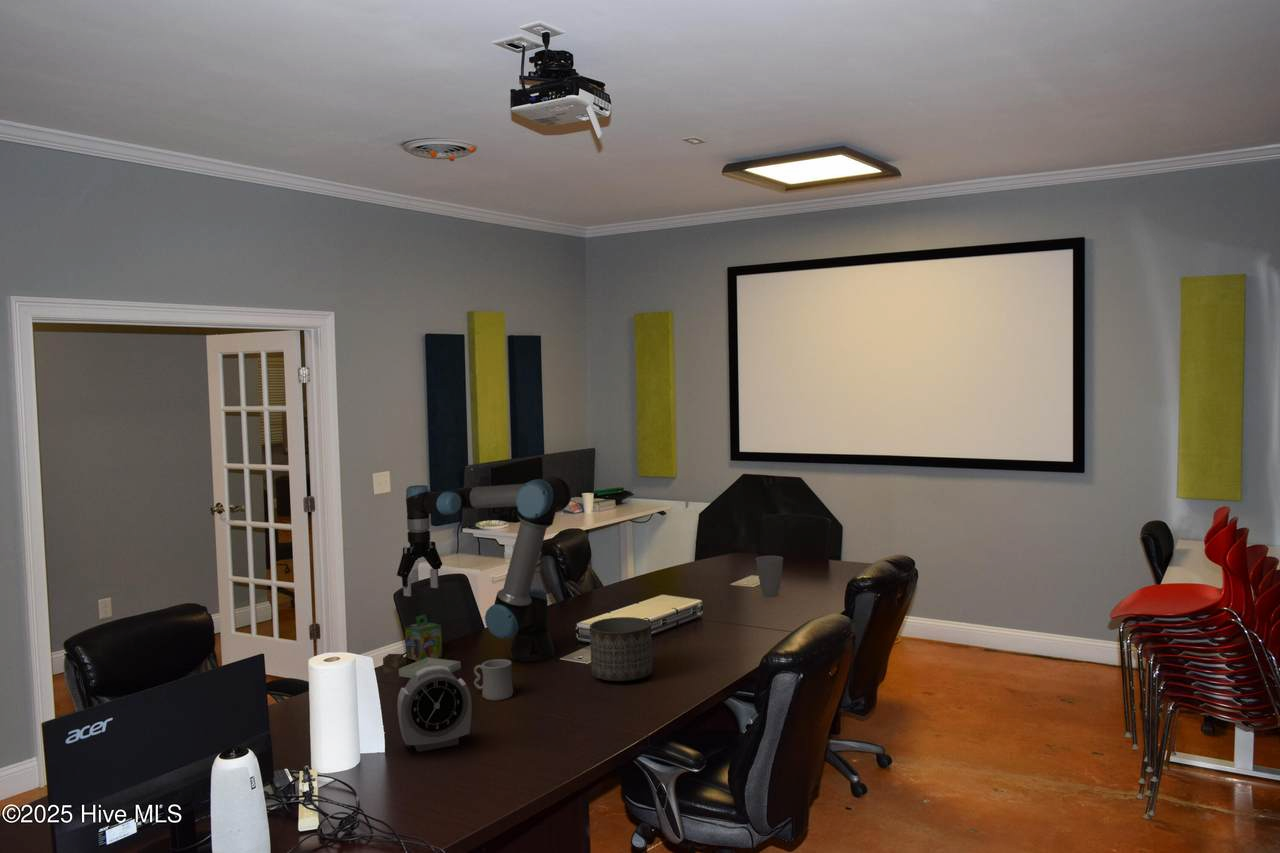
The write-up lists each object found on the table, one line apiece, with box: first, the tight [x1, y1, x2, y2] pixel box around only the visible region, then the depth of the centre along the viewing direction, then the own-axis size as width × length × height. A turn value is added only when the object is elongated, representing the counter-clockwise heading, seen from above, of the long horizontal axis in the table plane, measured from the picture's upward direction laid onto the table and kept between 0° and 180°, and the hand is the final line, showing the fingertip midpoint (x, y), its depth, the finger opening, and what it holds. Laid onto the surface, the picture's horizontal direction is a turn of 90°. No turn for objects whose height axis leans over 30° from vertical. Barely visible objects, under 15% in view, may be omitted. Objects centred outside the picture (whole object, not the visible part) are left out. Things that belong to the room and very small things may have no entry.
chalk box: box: [404, 613, 443, 662], centre depth 318 cm, size 9×9×15 cm
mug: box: [473, 658, 514, 701], centre depth 275 cm, size 12×9×10 cm
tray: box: [398, 657, 462, 679], centre depth 301 cm, size 14×14×2 cm
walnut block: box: [382, 653, 405, 674], centre depth 305 cm, size 5×5×5 cm
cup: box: [755, 555, 784, 598], centre depth 396 cm, size 12×12×16 cm
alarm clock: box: [396, 665, 472, 753], centre depth 238 cm, size 18×8×20 cm, turn 114°
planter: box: [589, 616, 654, 683], centre depth 289 cm, size 19×19×16 cm
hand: (421, 591), depth 317 cm, fingers open, 13 cm apart
